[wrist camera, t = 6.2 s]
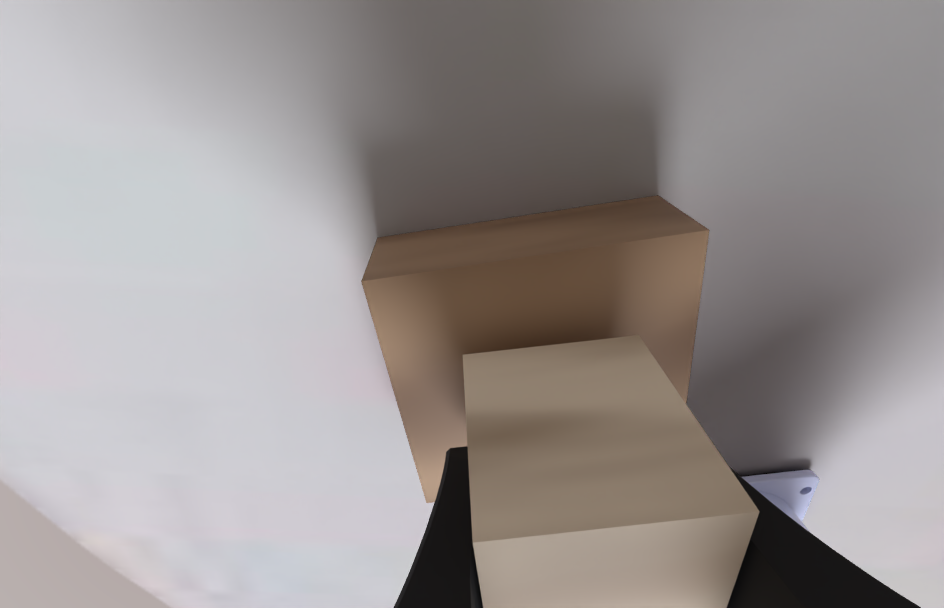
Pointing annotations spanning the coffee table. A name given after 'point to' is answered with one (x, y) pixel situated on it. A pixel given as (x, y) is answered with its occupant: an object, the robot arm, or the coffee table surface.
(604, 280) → the tan flat block
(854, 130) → the coffee table surface
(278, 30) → the coffee table surface
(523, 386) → the maple cube
